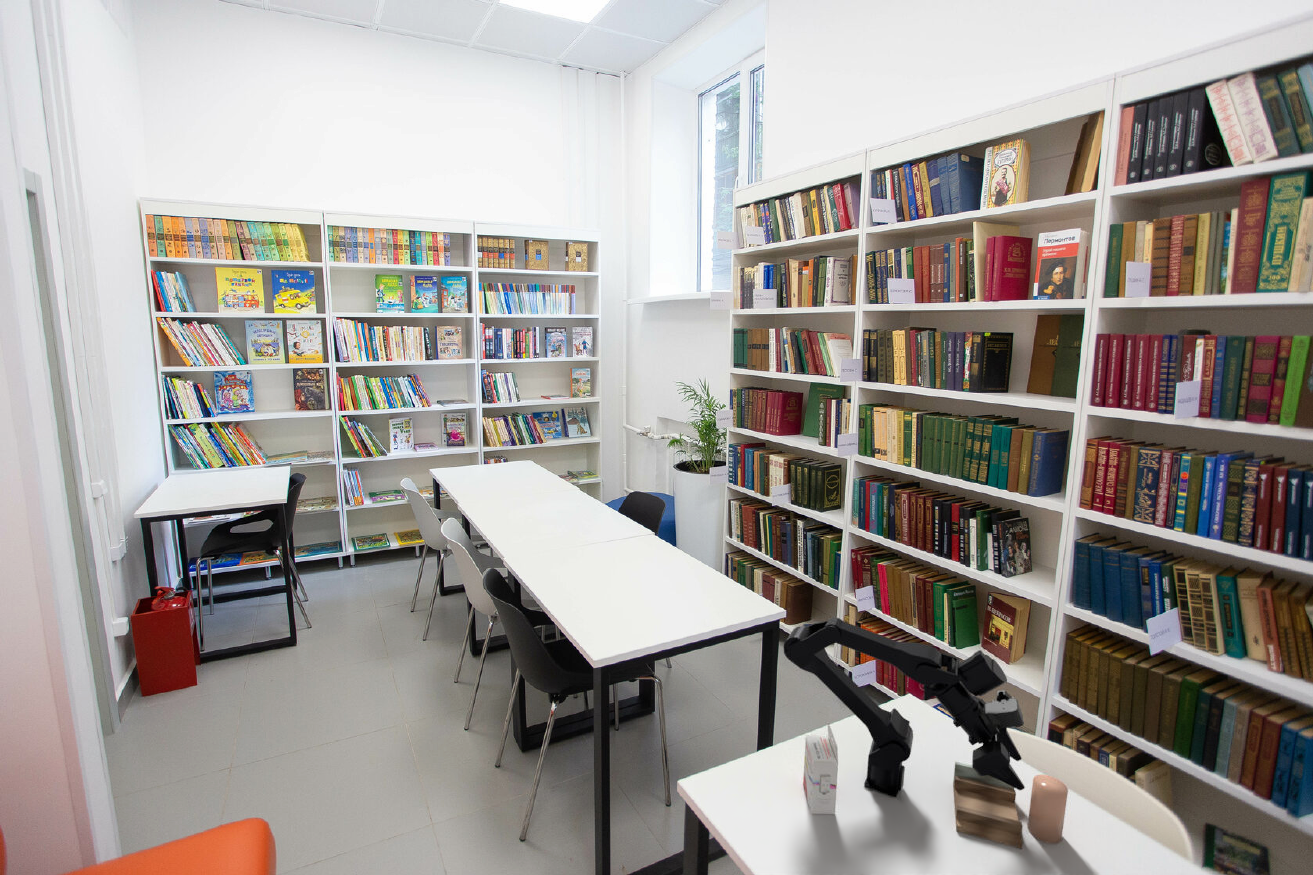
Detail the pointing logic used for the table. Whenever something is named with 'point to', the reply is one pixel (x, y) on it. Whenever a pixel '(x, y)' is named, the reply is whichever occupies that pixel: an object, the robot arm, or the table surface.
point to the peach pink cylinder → (1047, 809)
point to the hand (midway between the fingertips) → (1021, 773)
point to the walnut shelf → (985, 807)
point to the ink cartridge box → (821, 772)
